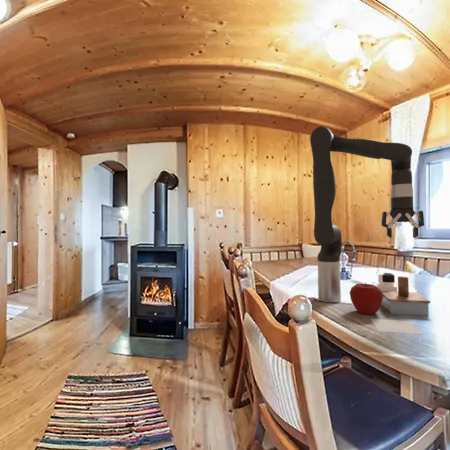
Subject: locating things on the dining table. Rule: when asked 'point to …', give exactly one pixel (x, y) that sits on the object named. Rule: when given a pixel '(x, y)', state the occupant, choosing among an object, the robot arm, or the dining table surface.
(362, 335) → the dining table surface
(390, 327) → the mat
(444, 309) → the dining table surface
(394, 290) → the medicine bottle
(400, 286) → the lid
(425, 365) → the dining table surface
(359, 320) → the dining table surface
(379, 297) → the apple
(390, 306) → the grey open box
